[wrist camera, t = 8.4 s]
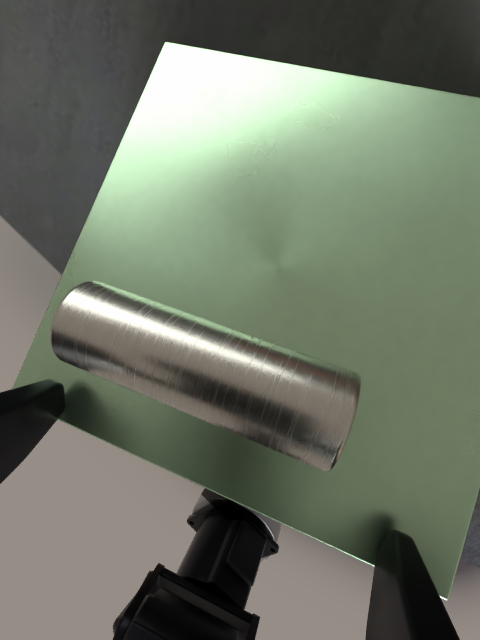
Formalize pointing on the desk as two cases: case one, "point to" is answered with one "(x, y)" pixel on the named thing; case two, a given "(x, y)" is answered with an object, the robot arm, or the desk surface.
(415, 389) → the machine lid
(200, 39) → the desk surface
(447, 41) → the desk surface
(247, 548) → the robot arm
